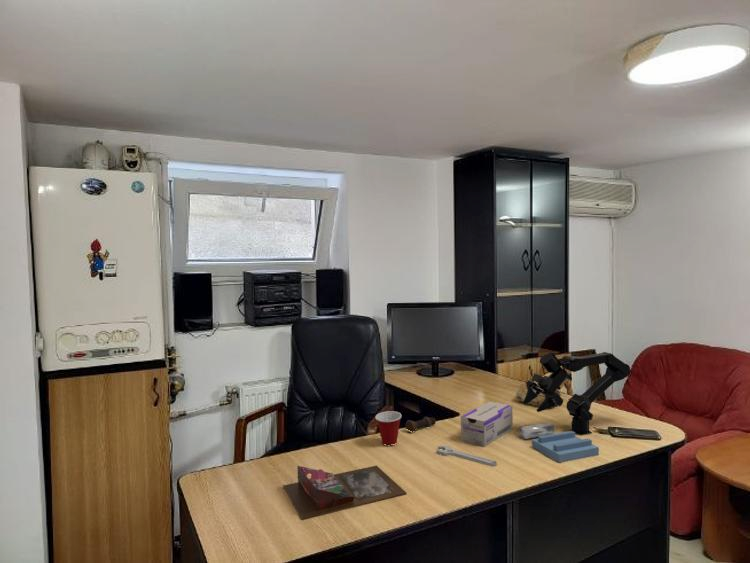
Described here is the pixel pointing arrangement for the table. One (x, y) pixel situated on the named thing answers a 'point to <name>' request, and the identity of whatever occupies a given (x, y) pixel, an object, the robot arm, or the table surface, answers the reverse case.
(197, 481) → the table surface
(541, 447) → the cradle
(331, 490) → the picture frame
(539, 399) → the petrified wood
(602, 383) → the robot arm
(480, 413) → the surgical sutures box
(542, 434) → the axle
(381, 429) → the plastic cup
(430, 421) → the bolt
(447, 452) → the adjustable wrench
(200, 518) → the table surface
